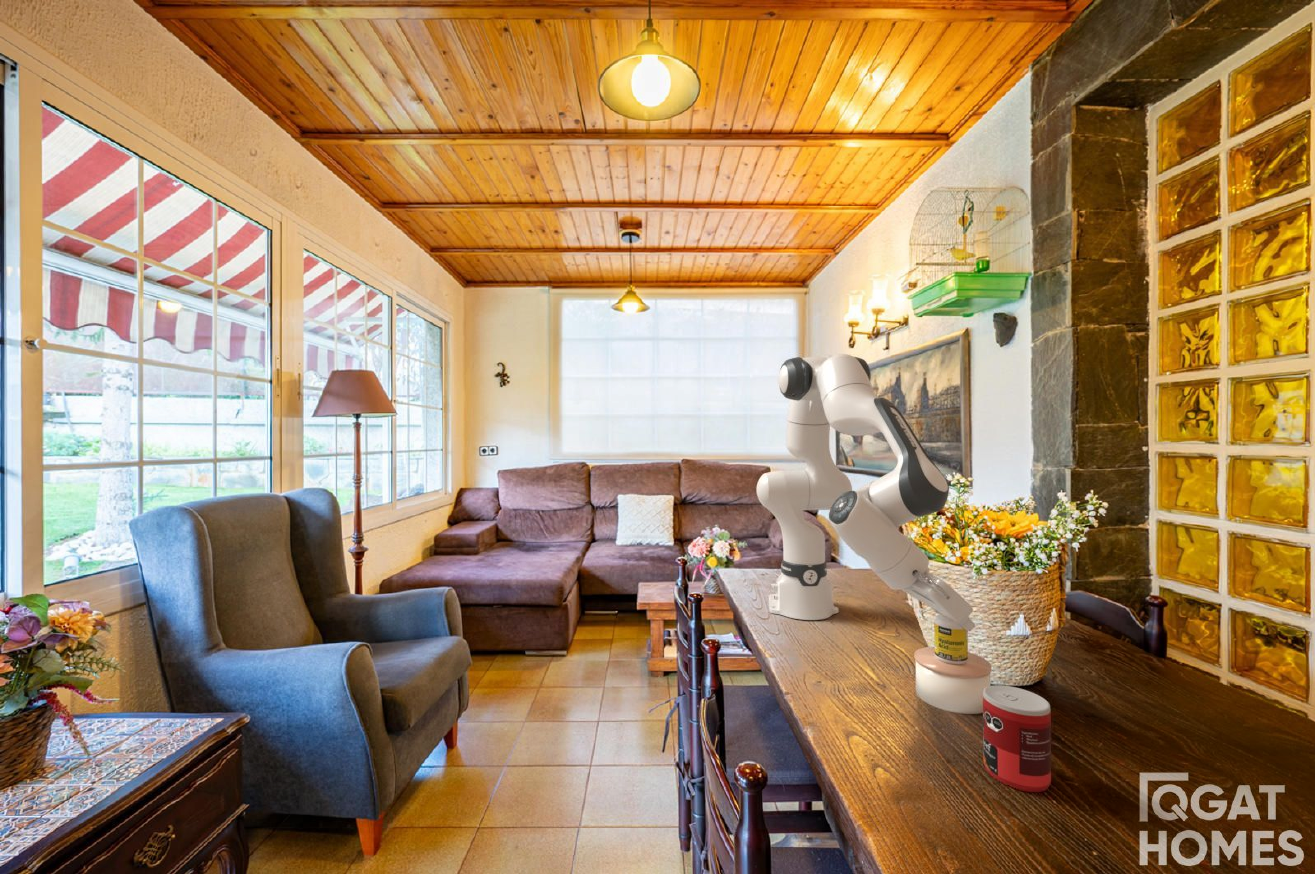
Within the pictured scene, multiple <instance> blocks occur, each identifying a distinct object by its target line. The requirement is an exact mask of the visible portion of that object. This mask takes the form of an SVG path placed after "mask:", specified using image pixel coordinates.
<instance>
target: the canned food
mask: <svg viewBox="0 0 1315 874" xmlns="http://www.w3.org/2000/svg"><path fill="white" fill-rule="evenodd" d="M1051 710H1052V709H1051V704H1050V702H1049V701H1047V699H1045V698H1044V697H1042V696H1040V695H1039V694H1036V693H1034V692H1033V691H1029V690H1026V689H1023V688H1021V687H1020V688H1019V687H1016V686H1011V685H1003V684H1002V685H1001V684H1000V685H998V684H997V685H994V684H993V685H990V686H988V687H986V688H985V689H984V690H983V713H982V751H983V752H982V753H983V754H982V756H983V757H982V758H983V759H982V761H983V764H984V768H985V770H986V771H988V772H987V773H988V774H989V775H990V776H991V777H992V776H993V777H992V778H993V779H995V780H996V779H997V780H996V781H998V782H999V781H1000V783H1001V782H1002V783H1001V784H1003V785H1005V786H1007V785H1009V786H1010V787H1009V786H1008V787H1009V788H1012V787H1013V789H1015V788H1016V790H1018V789H1019V790H1018V791H1023V792H1028V793H1040V792H1044V791H1046V790H1048V789H1049V787H1050V785H1051V782H1052V717H1051V716H1052V715H1051V712H1052V711H1051Z"/></svg>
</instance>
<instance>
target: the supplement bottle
mask: <svg viewBox="0 0 1315 874" xmlns="http://www.w3.org/2000/svg"><path fill="white" fill-rule="evenodd" d="M939 613H940V612H939ZM933 621H934V625H933V626H934V629H933V630H934V635H933V636H934V639H933V640H934V641H933V643H934V646H933V647H935V657H936V658H937V659H938V660H940V661H942V662H945V663H949V664H957V665H959V664H965V663H966V662H967V661H968V652H969V651H968V650H969V648H968V647H969V635H968V634H969V633H968V632H969V631H967V630H965V629H963V628H962V627H961V626H960V625H959V624H958V623H956V622H955V621H953V620H951V619H950V618H948V617H946V616H945V615H943V614H941V613H940V614H938V615H936V616H935V617H934V620H933Z"/></svg>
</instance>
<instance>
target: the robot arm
mask: <svg viewBox="0 0 1315 874" xmlns="http://www.w3.org/2000/svg"><path fill="white" fill-rule="evenodd" d="M871 374H872V373H871V370H870V366H869V365H868V362H867V361H866V360H865V359H863V358H861V357H857V356H853V355H851V354H847V353H846V354H845V353H840V354H835V355H828V354H827V355H822V356H819V355H818V356H808V357H807V356H806V357H801V356H798V357H797V356H796V357H791V358H788V359H787V360H785V361H784V362H783V363H782V364H781V367H780V370H779V373H778V385H779V390H780V393H781V394H782V395H783V396H784V397H785V398H786V399H788V400H789V404H788V409H787V410H788V411H787V418H786V419H787V420H786V421H787V422H786V439H785V446H786V448H787V450H788V452H789V453H790V454H791V455H792V456H794V457H796V458H797V459H799V460H801V461H804V462H805V469H780V470H773V471H768V472H765V473H763V474H762V475H761V476H760V477H759V479H758V481H757V484H756V496H757V499H758V501H759V502H760V504H761V505H762V506H763V507H764V508H765V509H767V510H768V511H770V513H771V514H772V515H773V516H774V517H775V519H776V520H777V523H778V525H779V527H780V531H781V535H782V537H781V538H782V550H783V551H782V552H783V557H782V558H781V564H780V572H781V573H780V574H779V576H778V577H777V579H776V580H775V581H776V582H775V583H770V592H771V594H768V609H769V613H771V614H776V615H781V616H784V617H787V618H791V619H797V620H805V621H818V620H826V619H828V618H830V617H831V616H832V615H834V614H835V615H836V614H838V613H839V612H840V609H839V607H837V606H835V605H834V596H833V595H834V592H833V583H832V581H831V580H830V579H829V578H828V577H827V575H828V565H827V564H828V562H827V561H826V537H825V534H824V531H823V530H822V529H821V528H820V527H819V526H817V525H816V524H813V522H811V521H807V520H806V519H805V516H804V511H829V513H828V519H829V523H830V525H831V526H832V527H833V529H834V531H835V532H836V533H837V535H838V536H839V537H840V538H841V540H842V541H843V542H844V543H845V544H846V545H847V546H848V547H849V549H851V550H852V551H853V552H854V553H855V554H856V555H857V556H858V557H861V558H862V559H863V560H865V561H866V563H867V565H868V566H869V568H870V569H871V571H873V572H874V573H875V575H877V577H878V578H879V579H881V580H882V581H883V583H885V584H886V586H888V587H889V588H890V589H891V590H894V591H899V590H900V591H903V592H904V593H906V594H907V595H909V596H911V597H913V598H914V599H916V600H918V601H919V602H921V603H923V604H925V605H927V606H928V607H929V608H930V609H931V610H933V611H934V612H935V613H937V614H938V615H940V613H941V614H943V615H945V616H946V617H948V618H950V619H951V620H953V621H955V622H956V623H958V624H959V625H960V626H961V627H962V628H963V629H965V630H967V631H968V632H972V630H974V629H975V627H976V624H975V622H973V620H971V618H970V615H971V614H972V613H973V610H974V609H973V607H972V605H971V604H970V603H969V601H967V600H966V599H965V598H964V597H962V595H960V593H958V592H957V591H956V590H955V589H954V588H953V587H952V586H951V585H950V584H948V583H947V582H946V581H945V580H943V579H942V578H941V577H939V576H937V575H936V574H932V573H931V572H930V568H929V564H930V563H929V562H930V561H929V560H930V559H929V556H927V554H926V553H924V551H923V550H922V549H921V548H919V546H918V545H917V544H915V543H914V542H913V540H912V539H911V538H910V537H909V536H907V535H906V534H904V533H902V532H901V531H899V529H900V527H901V526H903V525H906V524H907V523H910V522H912V521H914V520H917V519H919V518H923V517H925V516H928V515H932V514H935V513H938V512H941V511H942V510H943V509H944V507H945V505H946V503H947V500H948V497H949V494H950V486H949V483H948V481H947V478H946V477H945V476H944V474H943V473H942V472H941V470H940V469H939V468H938V467H937V465H936V464H935V463H934V462H933V461H932V459H931V458H930V457H929V455H928V453H927V452H926V450H925V449H924V447H923V446H922V445H923V444H921V442H920V441H919V439H918V437H917V436H916V434H915V432H914V431H913V429H912V428H911V426H910V425H909V423H908V421H907V420H906V418H905V417H904V415H903V413H902V412H901V411H900V410H899V408H898V407H897V406H896V405H895V404H894V403H893V402H891V401H890V400H888V399H887V398H885V397H878V396H877V395H876V393H875V391H874V388H873V386H872V383H871V380H872V378H871V376H872V375H871ZM830 427H831V428H832V429H834V430H835V431H836V432H838V433H840V434H843V435H847V436H851V437H853V436H857V437H858V436H859V437H861V436H862V437H863V436H867V435H868V436H869V435H872V434H878V433H882V435H883V436H884V439H885V440H886V442H887V444H888V445H889V447H890V448H891V451H892V452H893V454H894V456H895V458H896V460H897V464H896V466H895V467H894V469H893V470H891V471H890V472H888V473H886V474H884V475H883V476H881V477H879V478H877V479H875V480H873V481H871V482H869V483H867V484H865V485H864V486H862V487H860V488H859V489H857V490H853V485H852V483H851V480H850V479H849V477H848V476H847V475H846V473H844V472H843V471H841V470H840V469H839V467H838V466H837V465H836V463H835V462H834V460H833V458H832V455H831V450H830V449H831V448H830V431H831V429H830ZM939 612H940V613H939Z"/></svg>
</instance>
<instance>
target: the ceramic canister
mask: <svg viewBox="0 0 1315 874" xmlns="http://www.w3.org/2000/svg"><path fill="white" fill-rule="evenodd" d="M913 656H914V660H915V693H916V696H917V697H919V699H921V700H922V701H923V702H924V703H926V704H928V705H930V706H932V707H934V708H937V709H940V710H943V711H947V712H949V713H950V712H952V713H955V714H956V713H957V714H964V715H965V714H966V715H974V714H975V715H976V714H983V690H984V689H985V688H986V687H988V686H991V673H992V664H991V663H990V662H989V661H988V660H987V659H985V658H983V657H981V656H980V655H978V654H976V653H972V652H970V651H968V661H967V662H966V663H965V664H959V665H957V664H949V663H945V662H942V661H940V660H938V659H937V658H936V657H935V647H934V646H926V647H925V646H924V647H922V648H918V649H917V650H915V651H914V655H913Z"/></svg>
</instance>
